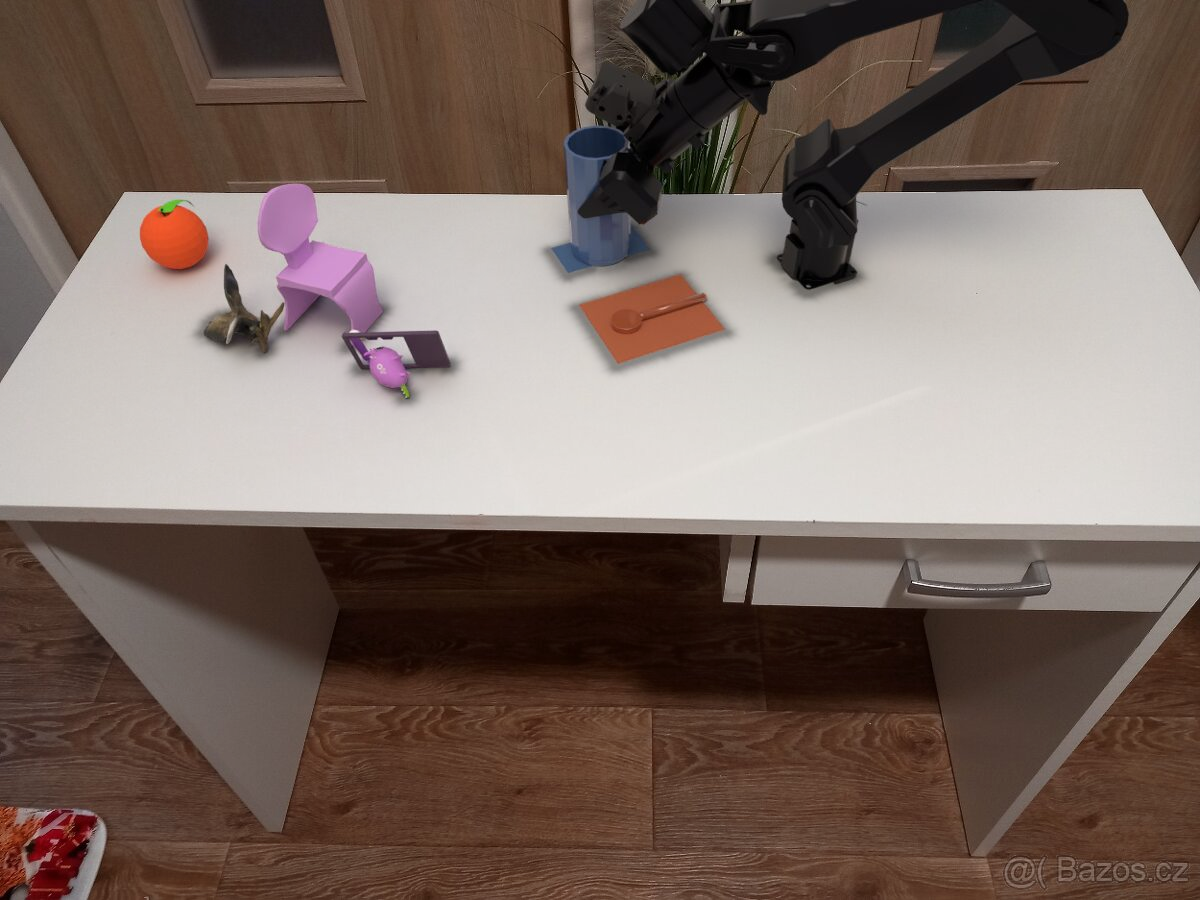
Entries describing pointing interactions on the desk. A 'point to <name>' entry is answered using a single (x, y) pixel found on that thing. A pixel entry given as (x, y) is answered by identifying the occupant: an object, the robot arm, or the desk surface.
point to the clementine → (174, 236)
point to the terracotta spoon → (648, 314)
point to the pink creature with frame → (387, 361)
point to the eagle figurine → (240, 317)
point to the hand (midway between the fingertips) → (586, 196)
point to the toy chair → (314, 260)
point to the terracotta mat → (651, 319)
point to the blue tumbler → (583, 161)
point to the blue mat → (573, 264)
